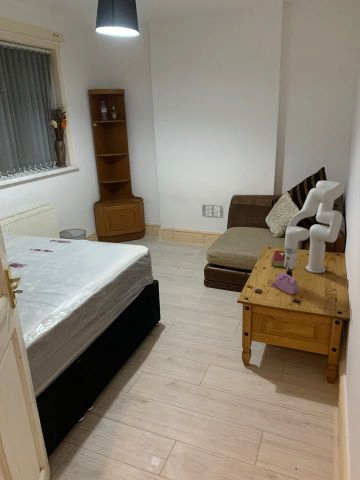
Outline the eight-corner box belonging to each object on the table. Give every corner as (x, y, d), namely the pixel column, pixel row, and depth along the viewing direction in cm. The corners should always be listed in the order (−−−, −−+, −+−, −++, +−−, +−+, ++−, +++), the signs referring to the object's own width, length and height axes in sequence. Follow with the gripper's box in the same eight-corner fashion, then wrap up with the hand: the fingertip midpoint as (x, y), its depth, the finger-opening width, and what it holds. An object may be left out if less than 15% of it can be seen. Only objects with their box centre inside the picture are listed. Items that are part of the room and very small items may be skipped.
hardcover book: (271, 266, 250) (272, 260, 249) (274, 255, 269) (274, 249, 267) (289, 267, 246) (289, 262, 245) (290, 256, 265) (291, 251, 264)
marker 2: (294, 299, 206) (294, 297, 205) (299, 300, 204) (299, 298, 204) (292, 301, 204) (292, 299, 203) (298, 303, 202) (298, 301, 202)
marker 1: (257, 290, 218) (257, 288, 218) (261, 291, 217) (261, 289, 216) (255, 292, 216) (255, 290, 216) (259, 293, 214) (259, 291, 214)
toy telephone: (299, 292, 213) (300, 277, 209) (291, 296, 210) (292, 280, 206) (276, 282, 227) (277, 267, 224) (269, 285, 224) (270, 270, 220)
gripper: (293, 254, 210) (291, 282, 216) (300, 246, 221) (298, 273, 228) (280, 252, 214) (279, 280, 220) (288, 244, 226) (287, 271, 232)
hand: (289, 276), depth 224 cm, fingers closed
